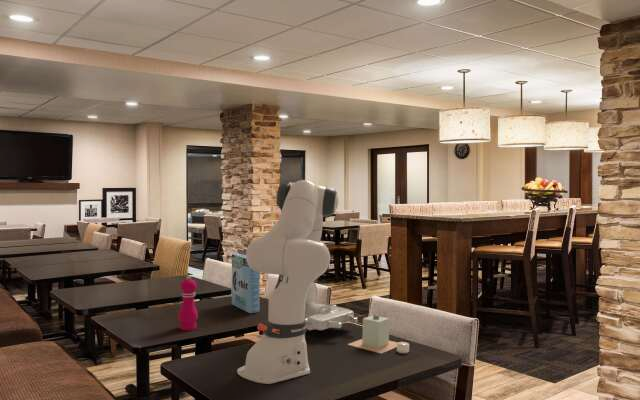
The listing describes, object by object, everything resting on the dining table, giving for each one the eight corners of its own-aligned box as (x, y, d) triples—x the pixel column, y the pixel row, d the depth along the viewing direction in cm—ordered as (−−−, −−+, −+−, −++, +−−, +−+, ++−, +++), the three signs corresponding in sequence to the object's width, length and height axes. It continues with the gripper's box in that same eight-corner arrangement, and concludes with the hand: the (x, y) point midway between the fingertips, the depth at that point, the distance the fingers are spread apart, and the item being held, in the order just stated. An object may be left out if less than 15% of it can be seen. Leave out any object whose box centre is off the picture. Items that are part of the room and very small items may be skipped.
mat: (381, 354, 179) (381, 353, 179) (347, 345, 188) (347, 344, 188) (403, 344, 190) (403, 344, 190) (370, 336, 199) (370, 335, 199)
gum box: (259, 312, 230) (260, 258, 229) (248, 313, 228) (249, 259, 227) (241, 303, 247) (241, 252, 246) (230, 304, 244) (231, 253, 243)
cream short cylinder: (405, 354, 179) (405, 346, 179) (394, 352, 182) (394, 343, 181) (411, 352, 182) (411, 343, 182) (400, 349, 185) (401, 341, 185)
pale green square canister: (378, 348, 184) (379, 318, 184) (362, 344, 188) (362, 315, 188) (388, 344, 189) (389, 315, 189) (372, 340, 193) (373, 311, 193)
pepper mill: (192, 331, 200) (193, 277, 199) (174, 329, 202) (175, 276, 201) (201, 326, 207) (201, 274, 206) (183, 324, 209) (184, 273, 208)
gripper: (301, 312, 197) (331, 319, 188) (335, 303, 212) (364, 309, 204) (300, 329, 197) (330, 337, 188) (335, 319, 213) (364, 326, 204)
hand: (348, 323), depth 196 cm, fingers open, 8 cm apart
